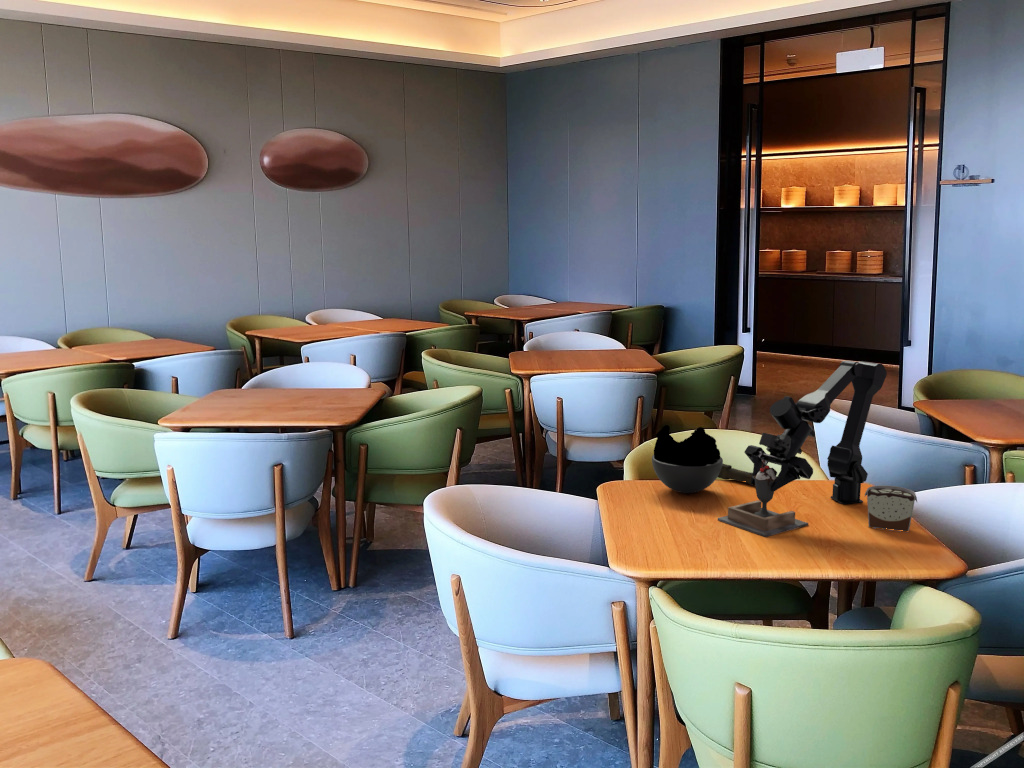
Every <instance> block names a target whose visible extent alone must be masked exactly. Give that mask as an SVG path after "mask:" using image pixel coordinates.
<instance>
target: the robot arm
mask: <svg viewBox="0 0 1024 768" xmlns="http://www.w3.org/2000/svg"><path fill="white" fill-rule="evenodd" d="M887 374H888V373H887V369H886V368H885V366H884V364H882V363H876V362H870V361H864V360H861V361H855V360H854V361H853V360H842V361H841V362H840V363H839V366H838V368H837V369H835V371H834V372H832V374H831V375H830V376H829V377H828V378H827V379H826V380H825V381H824V382H823V383H822V384H821V385H820V387H819V388H818V389H817V390H815V391H812V392H810V393H808V394H805V395H804V396H803V397H801V398H800V399H799V400H797V402H796V403H795V401H794V399H793V397H792V396H788V395H785V396H783V398H782V399H779V400H777V401H775V402H774V403H772V404H771V406H770V408H769V413H770V415H771V416H772V418H773V419H774V420H775V421H776V423H777V424H778V425H779V426H780V428H781V429H783V430H784V431H783V432H782V434H777V435H775V434H772V433H767V432H762V435H761V437H760V440H759V443H758V444H759V445H761V446H764V447H766V449H765V450H766V451H767V452H769V454H768V453H766V451H765V450H764V448H762V447H761V446H757V445H752V444H751V445H748V446H747V447H746V449H744V451H743V453H744V454H745V455H746V456H747V458H748V459H749V460H750V461H751V462H752V463H753V470H752V473H753V474H752V476H754V475H755V476H756V475H757V473H758V472H759V471H760V469H761V468H763V467H765V466H766V465H768V463H771V464H774V465H777V466H780V472H779V473H778V474H777V475H776V476H777V478H776V479H775V481H774V483H773V485H772V487H771V489H770V490H771V491H772V492H774V493H775V492H776V491H778V490H779V489H781V488H782V487H785V486H786V485H788V484H790V483H792V482H794V481H795V480H801V479H802V478H804V479H806V480H810V479H811V477H812V475H813V474H814V468H813V466H811V464H810V463H809V462H808V460H807V459H806V458H804V457H800V456H797V455H801V454H802V453H803V449H801V448H802V447H803V445H804V443H805V441H806V440H807V438H808V437H813V438H815V437H816V432H815V430H814V429H815V428H814V426H813V425H810V423H808V422H811V423H815V424H821V423H822V422H824V420H825V419H826V418H827V417H828V414H829V413H830V411H831V405H832V403H833V402H834V401H835V400H836V399H837V398H838V396H840V394H842V392H843V391H845V389H846V388H847V387H848V386H849V385H850V384H851V385H852V388H853V391H854V393H853V395H852V400H851V403H850V406H849V410H848V413H847V417H846V421H845V424H844V428H843V431H842V436H841V439H840V441H839V442H838V443H837V444H836V445H831V447H830V449H829V454H828V457H826V459H827V468H828V473H829V477H830V478H834V483H833V484H832V495H831V496H830V499H832V500H834V501H836V502H837V503H839V504H841V505H850V504H863V503H864V500H862V499H861V487H862V484H863V483H864V482H866V481H867V480H868V475H869V473H868V472H867V471H866V469H865V468H864V466H863V465H862V463H863V455H862V451H861V448H860V445H861V441H862V437H863V435H864V430H865V426H866V423H867V420H868V415H869V412H870V409H871V405H872V402H873V398H874V396H875V395H876V394H877V393H878V392H879V391H880V390H881V389H882V387H883V385H884V383H885V380H886V378H887ZM762 461H764V462H762ZM764 463H765V464H766V465H765V464H764ZM762 464H763V467H762ZM750 485H751V486H753V487H755V479H754V478H753V477H752V478H751V484H750Z"/></svg>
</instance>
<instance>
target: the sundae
mask: <svg viewBox="0 0 1024 768" xmlns="http://www.w3.org/2000/svg"><path fill="white" fill-rule="evenodd" d="M762 462H764V461H762ZM764 464H765V463H764ZM765 465H766V464H765ZM762 467H763V464H762ZM777 476H778V471H777V470H776V469H774V467H770V465H768V464H767V465H766V466H765V467H763V468H761V469H760V471H759V472H758V473H757V475H756V476H755V475H754V476H752V477H753V478H754V479H755V485H756V486H755V485H754V486H755V494H756V498H757V500H759V501H761V508H762V509H761V511H760V512H756V513H754V514H755V515H758V516H761V517H764V518H766V517H770V516H774V515H773V514H772V513H769V512H768V511H767V510H768V509H767V507H768V506H767V505H768V503H769V502H771V501H772V500H773V499H774V498H773V497H774V494H775V491H774V492H772V491H771V490H770V489H771V487H772V485H773V483H774V481H775V479H776V478H777Z"/></svg>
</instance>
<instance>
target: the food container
mask: <svg viewBox="0 0 1024 768" xmlns="http://www.w3.org/2000/svg"><path fill="white" fill-rule="evenodd" d="M864 497H866V500H867V501H866V502H867V503H866V504H867V518H868V519H867V520H868V528H869V527H873V528H872V529H876V528H883V529H882V530H884V529H886V528H887V529H894V530H903V531H909V532H910V527H911V522H912V517H913V512H914V506H915V502H916V503H918V497H917V494H916V492H915V491H914V490H911V489H909V488H905V487H902V486H896V485H885V484H884V485H882V484H881V485H872V486H870V487H868V488H867V489H866V491H865V493H864Z"/></svg>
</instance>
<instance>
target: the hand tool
mask: <svg viewBox="0 0 1024 768" xmlns="http://www.w3.org/2000/svg"><path fill="white" fill-rule="evenodd" d="M752 474H753V472H751V471H750V472H748V471H745V470H740V469H737V468H734V467H733V466H732V465H731V464H726V463H723V464H722V468H721V471H720V473H719V475H718V477H717V478H719V479H723V480H725V481H726V480H732V481H736V482H740V481H746V482H743V483H744V484H749V485H751V478H752ZM754 487H756V485H754Z"/></svg>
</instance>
